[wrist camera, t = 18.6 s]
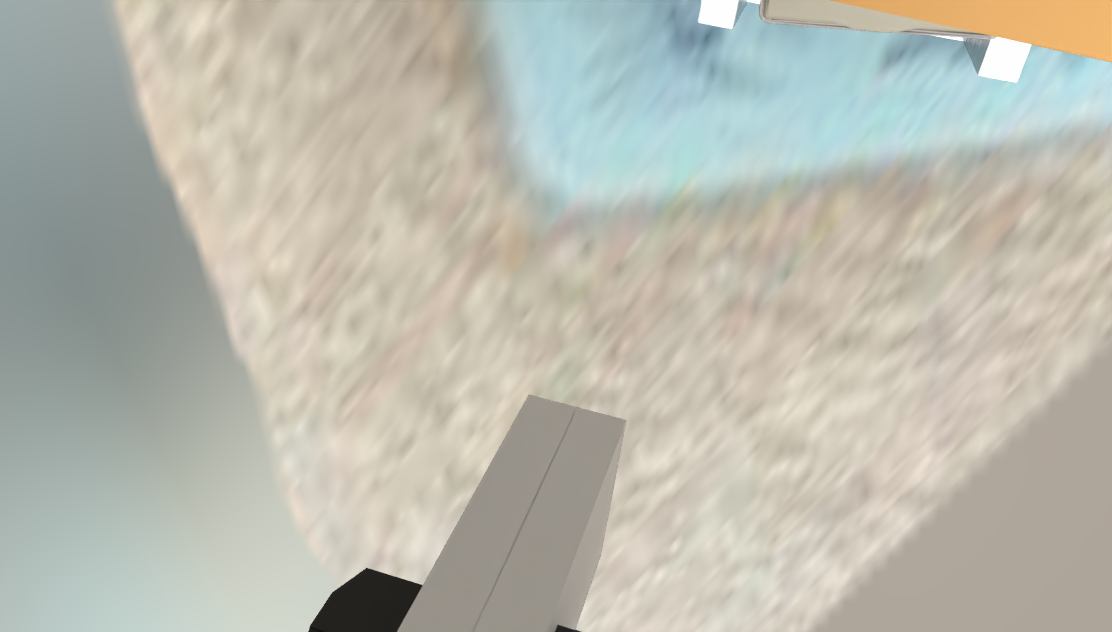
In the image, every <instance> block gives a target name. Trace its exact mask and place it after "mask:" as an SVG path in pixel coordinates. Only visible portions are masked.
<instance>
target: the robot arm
mask: <svg viewBox="0 0 1112 632" xmlns="http://www.w3.org/2000/svg"><path fill="white" fill-rule="evenodd" d="M625 425H626V420H624V419H620V418H616V417H612V416H608V415H605V414H601V413H597V412H593V411H589V410H586V409H582V408H578V407H574V406H570V405H567V404H563V403H559V402H555V401H551V400H548V399H544V398H540V397H536V396H532V395H528V397H527V399H526V401H525V402H524V404H523V406H522V408H521V410H520V411H519V413H518V415H517V417H516V419H515V420H514V422H513V424H512V426H511V428H510V429H509V431H508V433H507V435H506V437H505V438H504V440H503V442H502V444H501V446H500V447H499V449H498V451H497V453H496V455H495V456H494V458H493V460H492V462H491V464H490V465H489V467H488V469H487V471H486V473H485V474H484V476H483V478H482V480H481V482H480V483H479V485H478V487H477V489H476V491H475V492H474V494H473V496H472V498H471V500H470V501H469V503H468V505H467V507H466V509H465V510H464V512H463V514H462V516H461V518H460V519H459V521H458V523H457V525H456V527H455V528H454V530H453V532H452V534H451V536H450V537H449V539H448V541H447V543H446V545H445V546H444V548H443V550H442V552H441V554H440V555H439V557H438V559H437V561H436V563H435V564H434V566H433V568H432V570H431V572H430V573H429V575H428V577H427V579H426V581H425V582H424V584H423V585H420V584H417V583H414V582H411V581H407V580H404V579H401V578H398V577H394V576H391V575H388V574H385V573H381V572H378V571H375V570H372V569H368V568H366V569H365V570H363V571H362V572H360V573H359V574H358V575H356V576H355V577H353V578H352V579H351V580H349V581H348V582H346V583H345V584H344V585H342V586H341V587H339V588H338V589H337V590H335V591H334V592H332V594H331V595H330V597H329V598H328V600H327V601H326V603H325V604H324V606H323V607H322V609H321V610H320V612H319V613H318V615H317V616H316V618H315V619H314V621H313V622H312V624H311V625H310V629H309V631H308V632H580V631H577V630H575V629H576V626H577V623H578V620H579V618H580V615H581V612H582V609H583V606H584V603H585V600H586V597H587V594H588V591H589V588H590V585H591V583H592V580H593V577H594V574H595V571H596V568H597V565H598V562H599V559H600V556H601V552H602V547H603V541H604V536H605V531H606V526H607V520H608V515H609V510H610V504H611V499H612V494H613V489H614V483H615V478H616V473H617V467H618V462H619V457H620V452H621V446H622V441H623V436H624V430H625Z"/></svg>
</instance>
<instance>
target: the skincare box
mask: <svg viewBox="0 0 1112 632" xmlns="http://www.w3.org/2000/svg"><path fill="white" fill-rule="evenodd" d="M759 16H760V18H761V19H762V20H763V21H764V22H766V23H775V24H787V25H798V26H810V27H823V28H835V29H848V30H860V31H874V32H889V33H905V34H920V35H933V36H948V37H964V38H979V39H995V38H997V37H995V36H990V35H985V34H981V33H976V32H972V31H967V30H963V29H958V28H953V27H949V26H944V25H940V24H935V23H931V22H926V21H921V20H917V19H912V18H908V17H903V16H899V15H894V14H889V13H885V12H880V11H876V10H871V9H867V8H862V7H857V6H853V5H848V4H844V3H839V2H835V1H830V0H760V7H759Z"/></svg>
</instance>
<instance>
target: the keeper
mask: <svg viewBox="0 0 1112 632" xmlns="http://www.w3.org/2000/svg"><path fill="white" fill-rule="evenodd" d="M830 1H835V2H839V3H844V4H848V5H853V6H857V7H862V8H867V9H871V10H876V11H880V12H885V13H889V14H894V15H899V16H903V17H908V18H912V19H917V20H921V21H926V22H931V23H935V24H940V25H944V26H949V27H953V28H958V29H963V30H967V31H972V32H976V33H981V34H985V35H990V36H995V37H999V38H1004V39H1008V40H1013V41H1017V42H1022V43H1027V44H1031V45H1036V46H1040V47H1045V48H1049V49H1054V50H1059V51H1063V52H1068V53H1072V54H1077V55H1081V56H1086V57H1091V58H1095V59H1100V60H1104V61H1109V62H1112V0H830Z"/></svg>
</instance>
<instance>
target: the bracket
mask: <svg viewBox="0 0 1112 632" xmlns="http://www.w3.org/2000/svg"><path fill="white" fill-rule="evenodd" d="M747 2H752V3H757V4H760V0H702V2H701V8H700V13H699V18H698V23H702V24H707V25H713V26H718V27H723V28H729V29H733V27H734V26H735V24H736V22H737V20H738V18H739V17H740V15H741V13H742V11H743V9H744V8H745V6H746V4H747ZM932 36H933V35H932ZM938 37H943V38H949V39H954V40H960V41H964V43H965V46H966V48H967V50H968V53H969V55H970V58H971V60H972V62H973V65H974V67H975V69H976V72H977V74H978V76H983V77H988V78H994V79H999V80H1004V81H1010V82H1015V83H1017V82H1018V79H1019V76H1020V74H1021V71H1022V68H1023V66H1024V63H1025V61H1026V58H1027V55H1028V53H1029V50H1030V48H1031V44H1027V43H1022V42H1017V41H1013V40H1008V39H1004V38H999V37H997V38H995V39H979V38H964V37H948V36H938Z"/></svg>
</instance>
